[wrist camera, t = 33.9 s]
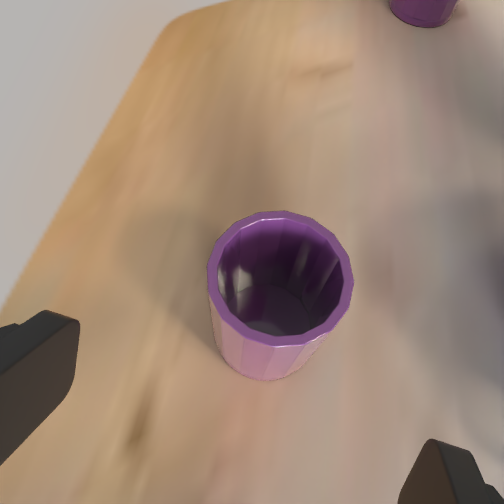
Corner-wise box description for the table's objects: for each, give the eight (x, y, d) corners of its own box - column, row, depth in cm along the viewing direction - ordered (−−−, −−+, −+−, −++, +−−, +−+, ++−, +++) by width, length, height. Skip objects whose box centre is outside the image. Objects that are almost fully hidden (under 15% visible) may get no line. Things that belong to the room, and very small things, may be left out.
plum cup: (324, 298, 24) (364, 232, 17) (301, 395, 21) (336, 367, 14) (233, 270, 24) (234, 195, 17) (200, 361, 22) (185, 318, 15)
